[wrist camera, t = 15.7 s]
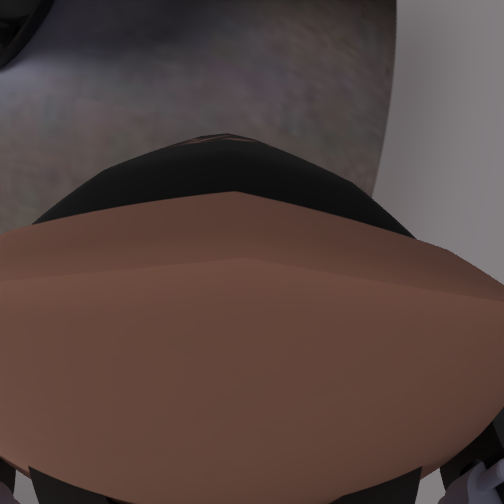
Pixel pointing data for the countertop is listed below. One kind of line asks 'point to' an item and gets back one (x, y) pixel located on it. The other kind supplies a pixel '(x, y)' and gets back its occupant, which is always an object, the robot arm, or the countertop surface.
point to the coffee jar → (238, 335)
